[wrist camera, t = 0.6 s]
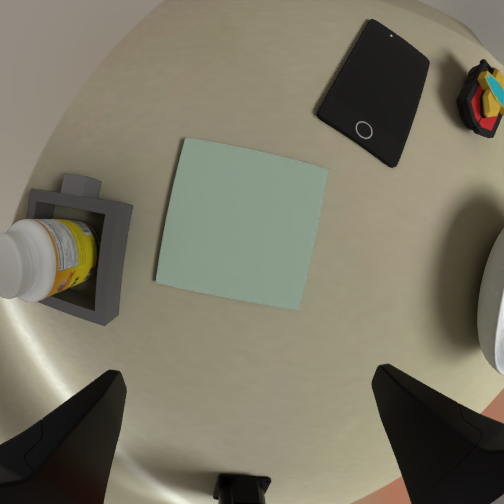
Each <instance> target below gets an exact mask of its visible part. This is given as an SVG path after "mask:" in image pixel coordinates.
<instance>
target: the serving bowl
mask: <svg viewBox="0 0 504 504" xmlns="http://www.w3.org/2000/svg"><path fill="white" fill-rule="evenodd" d="M477 327H478V336H479V342H480V346H481V349H482V352H483V354H484V356H485V358H486V360H487V361H488V362H489V364H490V365H491V366H492V367H493V368H494V369H495V370H496V371H497V372H498V373H500V374H502V375H504V229H503V230H502V231H501V233H500V234H499V236H498V238H497V239H496V241H495V243H494V245H493V247H492V250H491V252H490V255H489V257H488V260H487V263H486V267H485V270H484V274H483V278H482V282H481V287H480V294H479V301H478V312H477Z"/></svg>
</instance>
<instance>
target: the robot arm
mask: <svg viewBox="0 0 504 504" xmlns="http://www.w3.org/2000/svg"><path fill="white" fill-rule="evenodd" d="M372 389H373V393H374V396H375V400H376V403H377V407H378V411H379V414H380V418H381V421H382V423H383V426H384V428H385V431H386V434H387V436H388V439H389V441H390V444H391V447H392V449H393V452H394V455H395V457H396V460H397V463H398V466H399V468H400V471H401V474H402V477H403V480H404V483H405V485H406V488H407V491H408V494H409V498H410V501H411V502H412V503H411V504H504V424H503V423H501V422H498V421H496V420H493V419H491V418H488V417H486V416H483V415H481V414H479V413H477V412H475V411H473V410H471V409H469V408H467V407H465V406H463V405H461V404H458V402H456V401H454V400H452V399H450V398H448V397H447V396H445V395H443V394H441V393H439V392H438V391H436V390H434V389H432V388H431V387H429V386H427V385H425V384H423V383H422V382H420V381H418V380H416V379H415V378H413V377H411V376H409V375H408V374H406V373H404V372H402V371H401V370H399V369H397V368H396V367H394V366H392V365H390V364H383V365H379V366H378V367H377V369H376V372H375V374H374V377H373V379H372ZM126 393H127V389H126V385H125V382H124V379H123V377H122V374H121V372H120V371H117V370H108V371H106V372H105V373H103V374H102V375H101V376H99V377H98V378H97V379H95V380H94V381H93V382H91V383H90V384H89V385H87V386H86V387H85V388H83V389H82V390H81V391H79V392H78V393H76V394H75V395H74V396H72V397H71V398H70V399H68V400H67V401H66V402H64V403H63V404H62V405H60V406H59V407H57V408H56V409H55V410H53V411H52V412H51V413H49V414H48V415H47V416H45V417H44V418H43V419H42V420H40V421H38V422H37V423H35V424H34V425H33V426H31V427H30V428H28V429H27V430H25V431H24V432H22V433H20V434H19V435H17V436H15V437H13V438H12V439H10V440H8V441H6V442H4V443H2V444H1V445H0V504H103V503H104V498H105V493H106V488H107V483H108V478H109V474H110V470H111V465H112V461H113V457H114V453H115V449H116V445H117V441H118V438H119V434H120V430H121V424H122V418H123V411H124V405H125V399H126ZM270 483H271V478H269V477H247V476H234V475H224V474H221V475H219V476H218V480H217V483H216V487H215V491H214V494H213V498H214V499H216V500H219V502H218V504H266V502H265V496H264V494H265V493H266V491H267V489H268V487H269V485H270Z"/></svg>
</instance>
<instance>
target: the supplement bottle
mask: <svg viewBox="0 0 504 504" xmlns="http://www.w3.org/2000/svg"><path fill="white" fill-rule="evenodd" d="M99 253H100V242H99V239H98V236H97V234H96V232H95V231H94V230H93V228H92V227H91V226H90V225H88V224H87V223H85V222H83V221H80V220H65V219H23V220H20V221H17V222H16V223H14V224H13V225H12V226H11V227H10V228H9V230H8V231H7V233H0V296H1V297H3V298H6V299H11V298H14V297H18V298H20V299H21V300H23V301H26V302H37V301H40V300H42V299H45V298H47V297H49V296H51V295H54V294H56V293H59V292H61V291H63V290H66V289H68V288H70V287H73V286H75V285H77V284H80V283H82V282H84V281H86V280H88V279H89V278H91V277H92V276H93V275H94V273H95V272H96V270H97V269H98V261H99Z"/></svg>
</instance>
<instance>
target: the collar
mask: <svg viewBox="0 0 504 504" xmlns="http://www.w3.org/2000/svg"><path fill="white" fill-rule="evenodd" d="M100 186H101V181H99V180H96V179H93V178H90V177H87V176H81V175H72V174H64V178H63V182H62V187H61V192H60V193H57V192H51V191H44V190H38V189H31V194H30V199H29V205H28V212H27V219H52V218H53V212H54V206H55V205H59V206H65V207H70V208H76V209H81V210H86V211H92V212H97V213H102V214H105V219H104V225H103V231H102V238H101V245H100V253H99V261H98V271H97V282H96V297H92V296H89V295H86V294H83V293H79V292H76V291H73V290H70V289H66V290H63V291H61V292H59V293H56V294H54V295H51V296H49V297H47V298H45V299H42V300H40V301H37V302H40V303H42V304H44V305H47V306H49V307H52V308H55V309H57V310H60V311H62V312H65V313H68V314H70V315H73V316H76V317H79V318H82V319H85V320H88V321H91V322H94V323H97V324H100V325H103V326H106V325H107V324H108V323H109V322H111V321H112V320H113V319H114V318H115V317H117V316H118V315H119V302H120V291H121V281H122V272H123V264H124V257H125V250H126V243H127V237H128V231H129V225H130V219H131V214H132V209H133V205H128V204H124V203H118V202H113V201H107V200H101V199H98V195H99V190H100Z"/></svg>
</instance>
